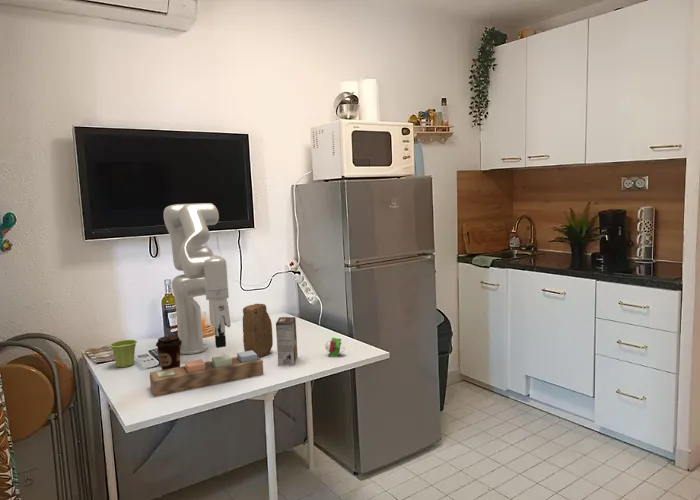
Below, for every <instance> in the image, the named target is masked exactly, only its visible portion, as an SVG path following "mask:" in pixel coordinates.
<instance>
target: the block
mask: <svg viewBox="0 0 700 500" xmlns="http://www.w3.org/2000/svg"><path fill="white" fill-rule="evenodd" d="M267 311H268V309H267V305H266V304H264V303H254V304H250V305H246V306H245V307H243V309H242V314H243V316H242V334H243V336H242V338H243V339H242V341H243V350H244V351H243V352H245V351H251V350H253V351H254V352H255V353H256V354H257V356H258V357H259V358H262V357H265V356H267V355H269V354H270V353H271V351H272V348H273V343H274V342H273V341H274V340H273V339H274V338H273V324H272V320H271V317H270V315H269V313H268V312H267Z"/></svg>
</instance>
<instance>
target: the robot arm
mask: <svg viewBox="0 0 700 500" xmlns="http://www.w3.org/2000/svg"><path fill="white" fill-rule="evenodd" d="M219 219H220V215H219V210H218V208H217V207H216V205H214V204H213V203H210V202H207V203H205V202H203V203H202V202H201V203H176V204H171V205H168V206H166V207H165V208H164V210H163V220H164V221H163V222H164V225H165V227H166V230H167V232H168V234H169V235H170V241H171V251H172V252H171V253H172V254H171V255H172V261H173V262H172V263H173V265H174V268H175V270H177V271H180V272H183V274H178V275H177V276H175V277H174V278H173V279H172V281H171V289H172V293H173V296H174V303H175V313H176V314H175V315H176V324H177V325H176V326H177V336H178V337H179V339H180V340H181V341H182V344H181V348H180V352H181V354H180V355H194V354H198V353H203V352H204V351H207V349H208V345H207V343H206V344H205V343H204V340H203V339H204V338H203V326H202V310H201V309H202V308H201V306H200V304H199V303H198V302H197V301H196V300H195V299H194V298H196V297H200V296H205V300H206V301H208V308H209V309H208V311H209V320H210V321H209V322H210V325H211V326H212V327H213V329H214V330H213V331H214V339H215V340H214V342H215V347H216V348H218V349H219V348H225V347H227V340H226V327H227V328H230V327H231V318H230V317H231V316H230V309H229V302H228V299H229V298H230V297H229V296H230V295H229V283H228V269H227V267H228V266H227V261H226V258H224V257H222V256H220V255H218V254H215V255H214V253H213V250H212V248H211V247H210V246H207V245H205V244H206V243H208V241H209V239H210V238H211V233H210V231H209V228H208V226H215V225H216V224H217V223H218V222H219Z"/></svg>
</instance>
